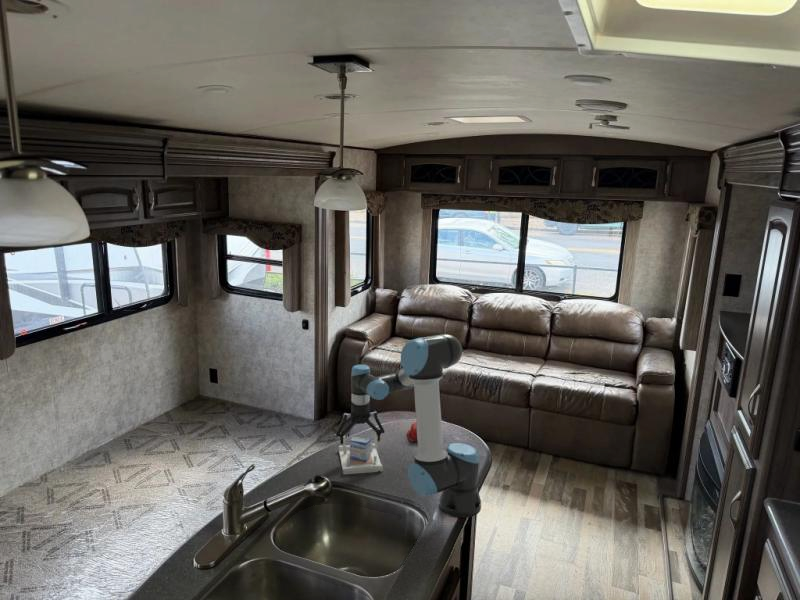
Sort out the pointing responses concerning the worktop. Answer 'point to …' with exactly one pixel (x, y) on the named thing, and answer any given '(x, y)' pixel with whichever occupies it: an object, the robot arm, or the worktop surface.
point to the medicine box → (360, 449)
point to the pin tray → (360, 466)
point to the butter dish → (413, 432)
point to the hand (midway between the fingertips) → (360, 449)
